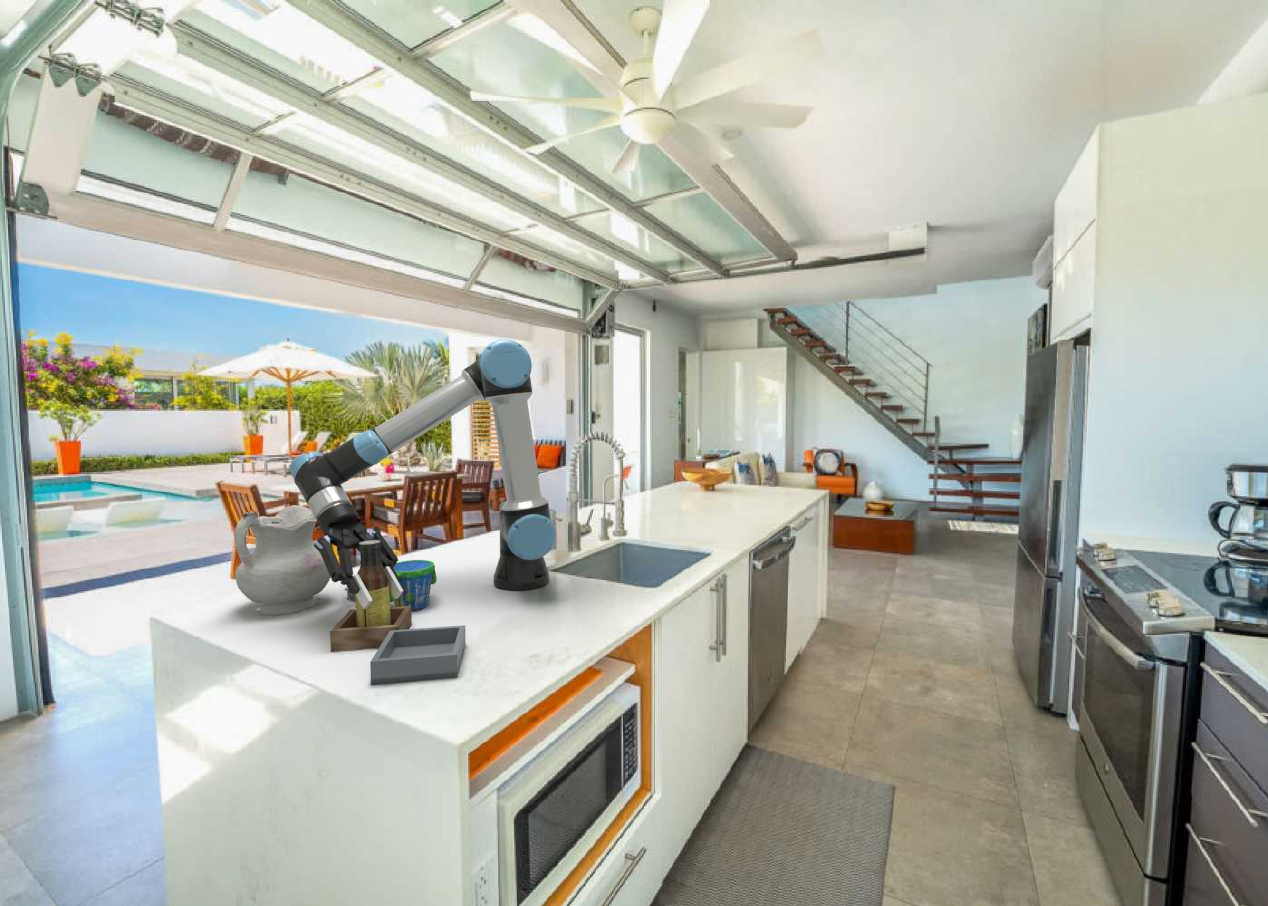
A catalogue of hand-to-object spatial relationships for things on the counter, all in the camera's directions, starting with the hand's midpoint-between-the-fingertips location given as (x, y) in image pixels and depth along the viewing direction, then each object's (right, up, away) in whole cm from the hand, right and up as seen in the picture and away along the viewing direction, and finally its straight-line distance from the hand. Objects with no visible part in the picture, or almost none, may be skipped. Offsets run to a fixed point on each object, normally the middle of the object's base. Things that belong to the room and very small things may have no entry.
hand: (383, 599), depth 109 cm
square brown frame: (-3, -8, +2) cm, 9 cm away
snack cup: (-3, -8, +21) cm, 22 cm away
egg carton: (-17, -7, +29) cm, 35 cm away
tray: (+12, -9, -10) cm, 18 cm away
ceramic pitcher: (-33, -8, +19) cm, 39 cm away
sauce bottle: (-3, -9, +2) cm, 9 cm away
